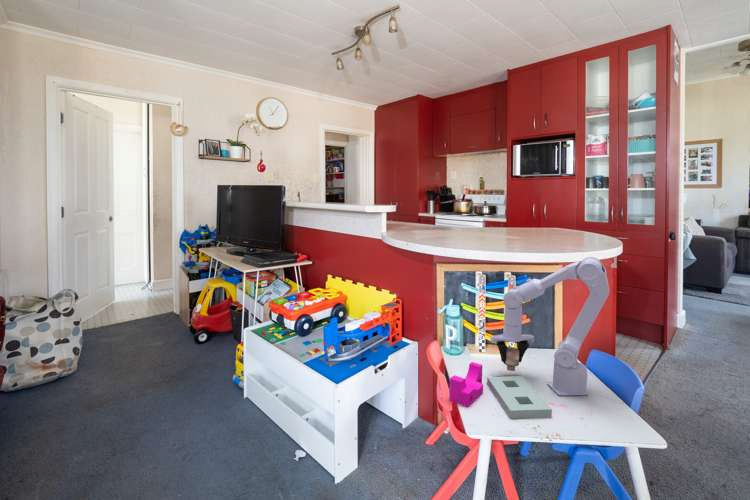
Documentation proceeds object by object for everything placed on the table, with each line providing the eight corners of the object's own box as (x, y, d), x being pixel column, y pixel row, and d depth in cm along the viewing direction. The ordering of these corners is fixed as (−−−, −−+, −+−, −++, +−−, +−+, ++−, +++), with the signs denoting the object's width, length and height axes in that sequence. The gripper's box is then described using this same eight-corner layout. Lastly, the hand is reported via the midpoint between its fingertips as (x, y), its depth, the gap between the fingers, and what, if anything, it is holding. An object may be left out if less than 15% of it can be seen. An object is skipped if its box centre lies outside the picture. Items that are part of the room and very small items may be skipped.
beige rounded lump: (515, 365, 135) (515, 346, 134) (521, 372, 130) (522, 352, 129) (501, 366, 135) (501, 347, 134) (506, 372, 130) (507, 353, 129)
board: (521, 383, 128) (522, 376, 128) (551, 417, 108) (551, 409, 108) (487, 383, 128) (487, 376, 127) (510, 418, 108) (510, 410, 108)
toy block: (467, 407, 114) (468, 384, 113) (449, 400, 118) (449, 378, 117) (488, 388, 125) (489, 367, 124) (471, 382, 129) (472, 361, 128)
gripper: (528, 319, 135) (526, 355, 137) (488, 320, 134) (486, 357, 136) (537, 326, 128) (535, 364, 130) (495, 327, 127) (493, 365, 129)
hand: (511, 361), depth 132 cm, fingers closed on beige rounded lump, 5 cm apart
